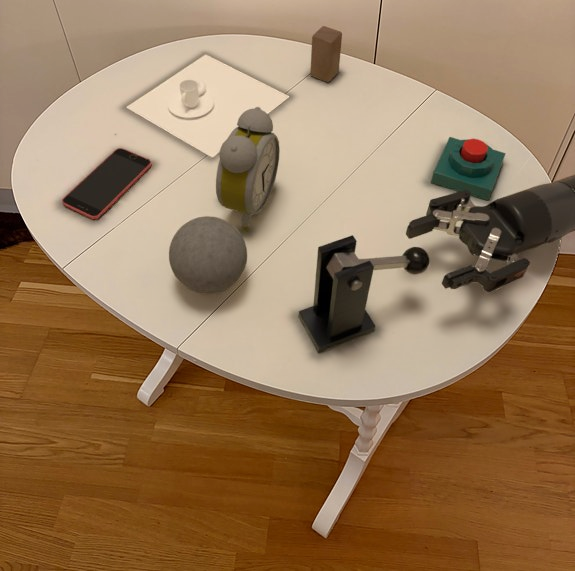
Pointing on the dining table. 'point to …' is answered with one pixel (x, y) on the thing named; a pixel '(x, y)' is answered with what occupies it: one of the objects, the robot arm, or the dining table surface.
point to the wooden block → (325, 53)
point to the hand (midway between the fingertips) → (425, 256)
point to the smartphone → (106, 183)
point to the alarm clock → (248, 165)
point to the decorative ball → (208, 255)
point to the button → (474, 150)
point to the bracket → (338, 299)
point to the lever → (383, 261)
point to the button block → (467, 170)
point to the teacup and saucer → (205, 103)
